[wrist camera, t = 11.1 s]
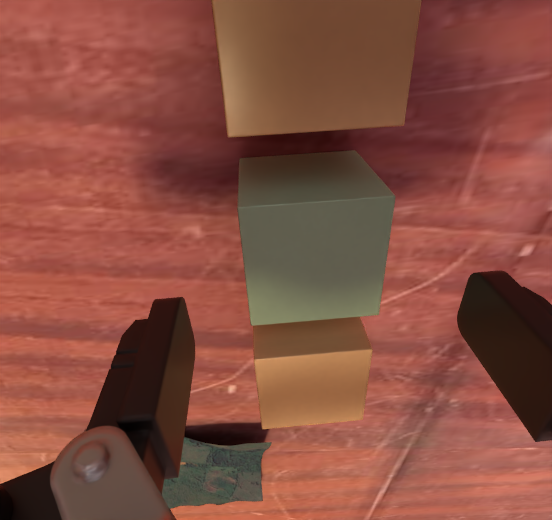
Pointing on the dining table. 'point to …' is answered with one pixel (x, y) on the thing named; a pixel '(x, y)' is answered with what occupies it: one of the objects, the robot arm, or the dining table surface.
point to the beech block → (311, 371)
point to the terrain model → (216, 474)
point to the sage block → (313, 236)
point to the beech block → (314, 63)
